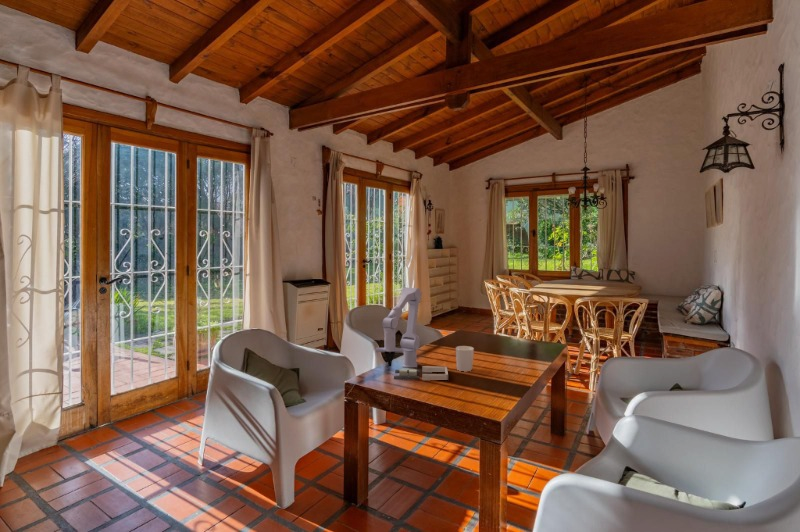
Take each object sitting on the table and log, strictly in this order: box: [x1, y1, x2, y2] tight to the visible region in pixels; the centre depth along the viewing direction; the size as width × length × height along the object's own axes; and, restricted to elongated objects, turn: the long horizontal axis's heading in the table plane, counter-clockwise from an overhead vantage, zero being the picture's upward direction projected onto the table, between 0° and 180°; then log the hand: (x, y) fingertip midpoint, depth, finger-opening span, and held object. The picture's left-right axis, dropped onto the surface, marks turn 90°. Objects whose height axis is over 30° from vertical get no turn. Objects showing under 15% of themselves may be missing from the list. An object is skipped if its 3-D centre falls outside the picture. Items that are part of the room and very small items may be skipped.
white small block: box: [398, 368, 408, 376], centre depth 224 cm, size 4×4×3 cm
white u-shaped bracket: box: [421, 365, 449, 381], centre depth 223 cm, size 14×13×3 cm
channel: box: [393, 369, 421, 380], centre depth 224 cm, size 12×13×1 cm
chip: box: [408, 368, 418, 376], centre depth 224 cm, size 4×4×3 cm
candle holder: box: [455, 345, 475, 373], centre depth 234 cm, size 10×10×12 cm
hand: (389, 365), depth 224 cm, fingers closed
